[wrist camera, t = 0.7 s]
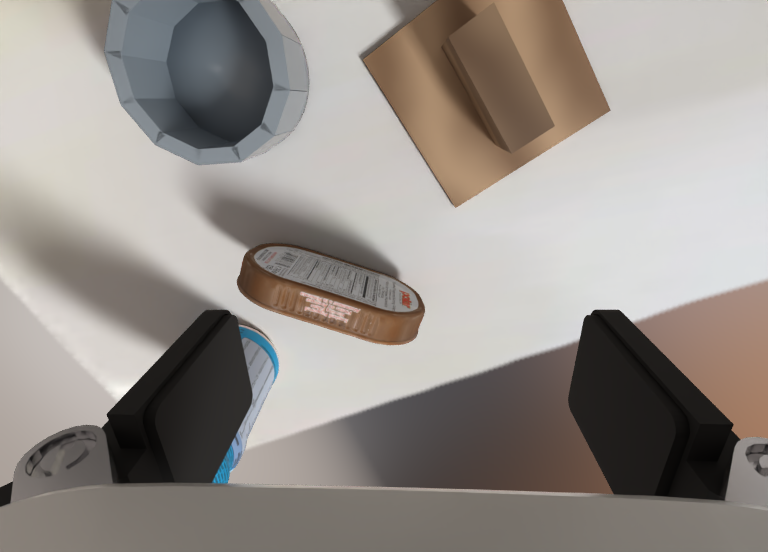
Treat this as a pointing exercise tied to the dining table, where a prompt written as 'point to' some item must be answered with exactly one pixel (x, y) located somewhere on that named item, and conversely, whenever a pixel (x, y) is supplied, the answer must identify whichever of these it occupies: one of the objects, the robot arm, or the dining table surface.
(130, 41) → the bowl
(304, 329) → the dining table surface
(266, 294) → the tin
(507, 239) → the dining table surface
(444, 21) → the lid
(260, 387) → the beverage bottle
